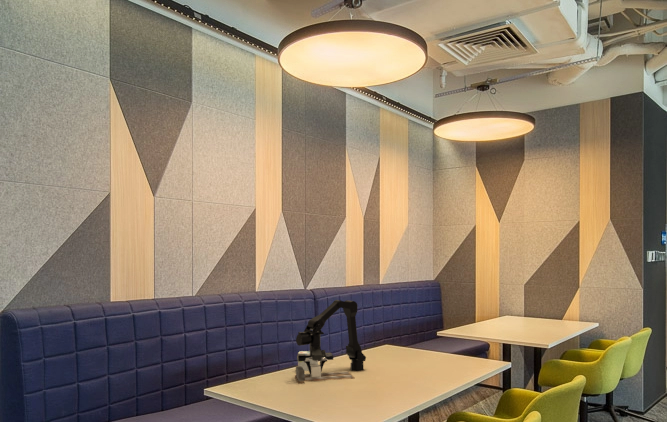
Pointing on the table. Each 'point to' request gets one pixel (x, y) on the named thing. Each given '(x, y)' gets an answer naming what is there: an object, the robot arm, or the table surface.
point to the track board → (303, 377)
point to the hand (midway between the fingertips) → (315, 373)
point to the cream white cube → (315, 370)
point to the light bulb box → (304, 365)
